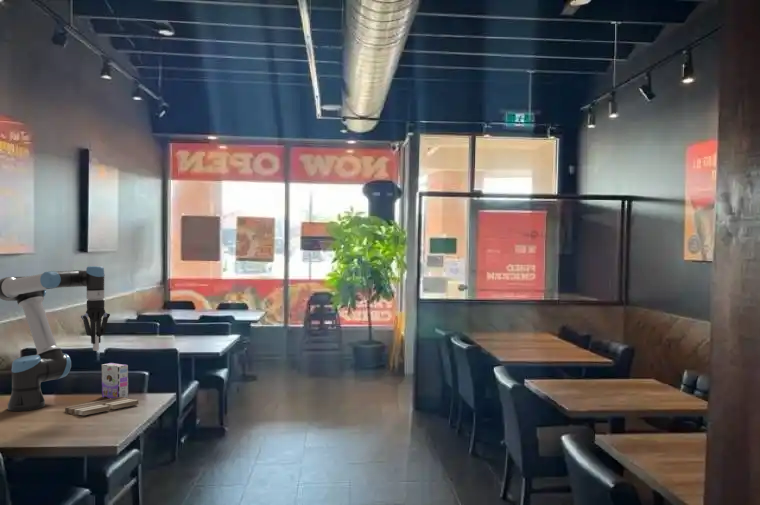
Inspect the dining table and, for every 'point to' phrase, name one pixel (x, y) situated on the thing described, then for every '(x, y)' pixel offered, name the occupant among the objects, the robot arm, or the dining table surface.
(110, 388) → the candy box
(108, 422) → the dining table surface
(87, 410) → the plank
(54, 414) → the dining table surface
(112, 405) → the plank
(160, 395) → the dining table surface
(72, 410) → the floor board
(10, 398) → the robot arm
